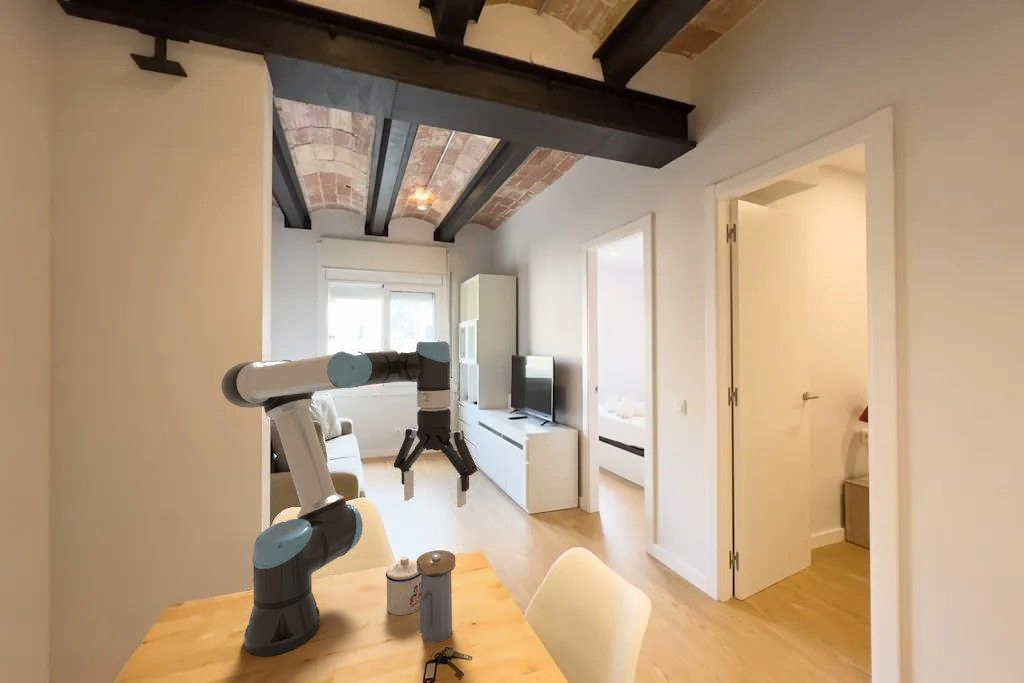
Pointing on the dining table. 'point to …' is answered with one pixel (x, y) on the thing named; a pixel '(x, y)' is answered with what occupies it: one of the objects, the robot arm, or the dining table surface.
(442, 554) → the plunger
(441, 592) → the cylinder
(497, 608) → the dining table surface
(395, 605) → the teacup with lid
